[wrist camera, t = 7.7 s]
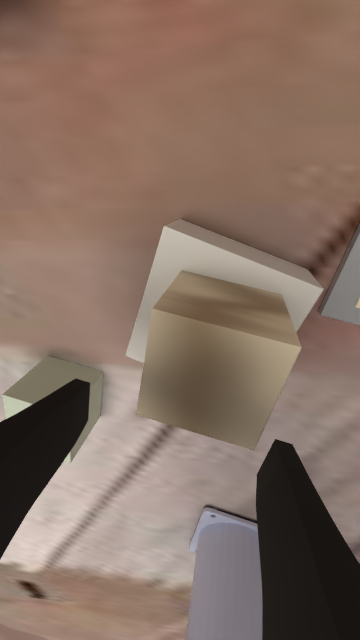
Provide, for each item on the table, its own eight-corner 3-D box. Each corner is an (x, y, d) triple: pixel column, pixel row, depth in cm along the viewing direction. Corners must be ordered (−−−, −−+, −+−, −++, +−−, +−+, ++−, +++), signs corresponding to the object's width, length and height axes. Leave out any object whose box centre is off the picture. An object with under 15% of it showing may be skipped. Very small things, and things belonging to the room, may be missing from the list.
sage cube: (104, 371, 23) (70, 415, 18) (101, 414, 25) (70, 463, 20) (48, 355, 23) (2, 394, 19) (50, 399, 25) (10, 443, 21)
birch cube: (281, 294, 13) (301, 347, 9) (250, 375, 15) (253, 450, 11) (181, 270, 14) (152, 308, 9) (165, 352, 16) (136, 414, 11)
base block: (306, 267, 16) (323, 289, 13) (247, 368, 20) (248, 406, 16) (180, 218, 16) (164, 225, 13) (146, 326, 20) (125, 355, 17)
